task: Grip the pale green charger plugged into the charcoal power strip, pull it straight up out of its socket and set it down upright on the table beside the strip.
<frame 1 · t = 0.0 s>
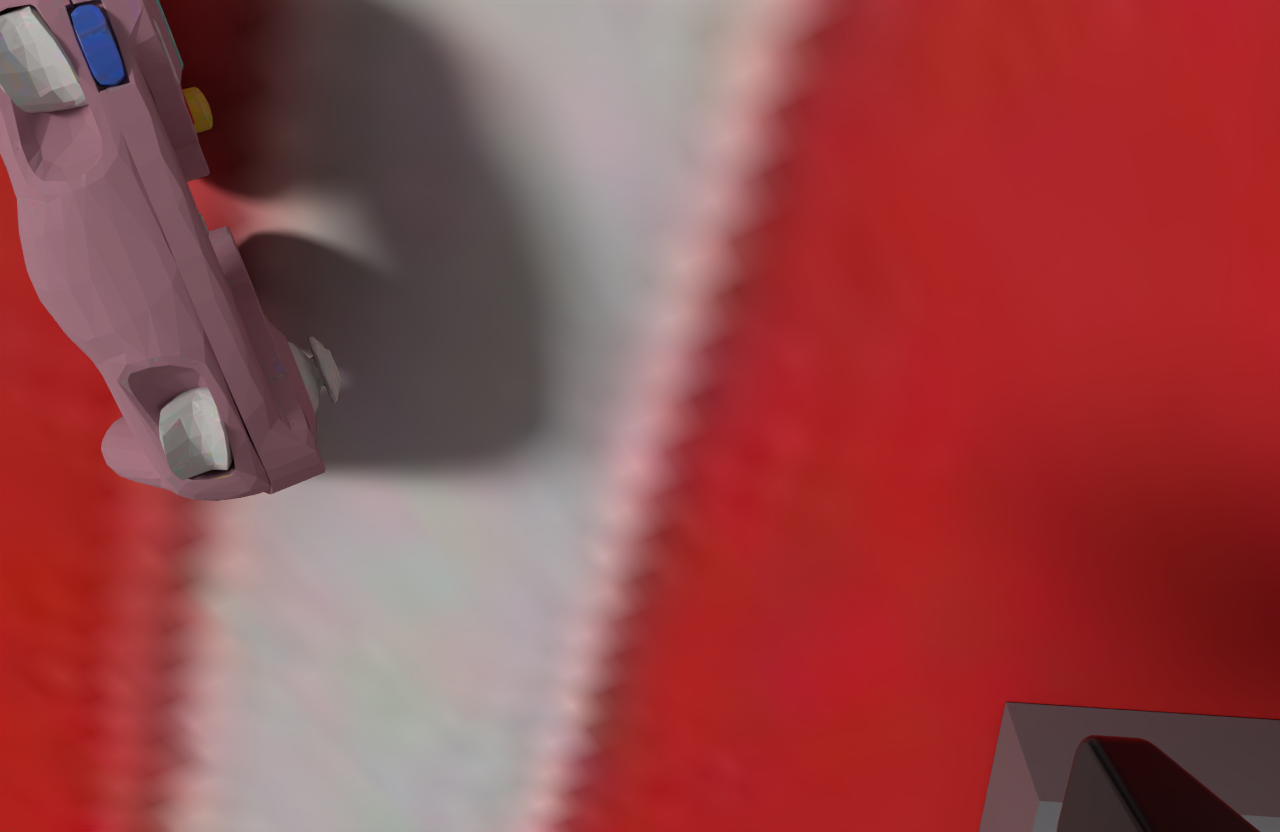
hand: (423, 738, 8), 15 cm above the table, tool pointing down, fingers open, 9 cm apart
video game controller: (188, 194, 22), on the table
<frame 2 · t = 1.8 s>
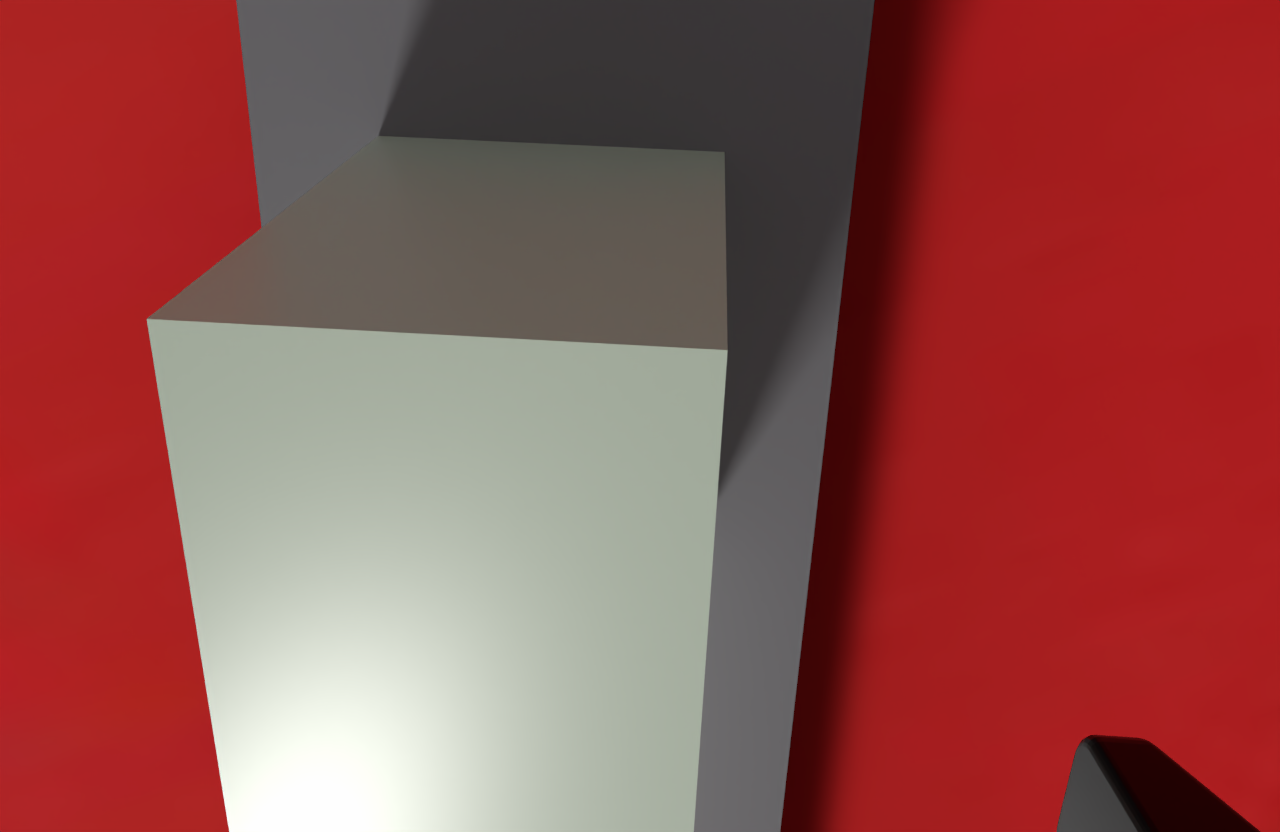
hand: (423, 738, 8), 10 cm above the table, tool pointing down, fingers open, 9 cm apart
charger: (569, 292, 16), point 1 cm above the table, touching power strip
power strip: (575, 505, 19), on the table
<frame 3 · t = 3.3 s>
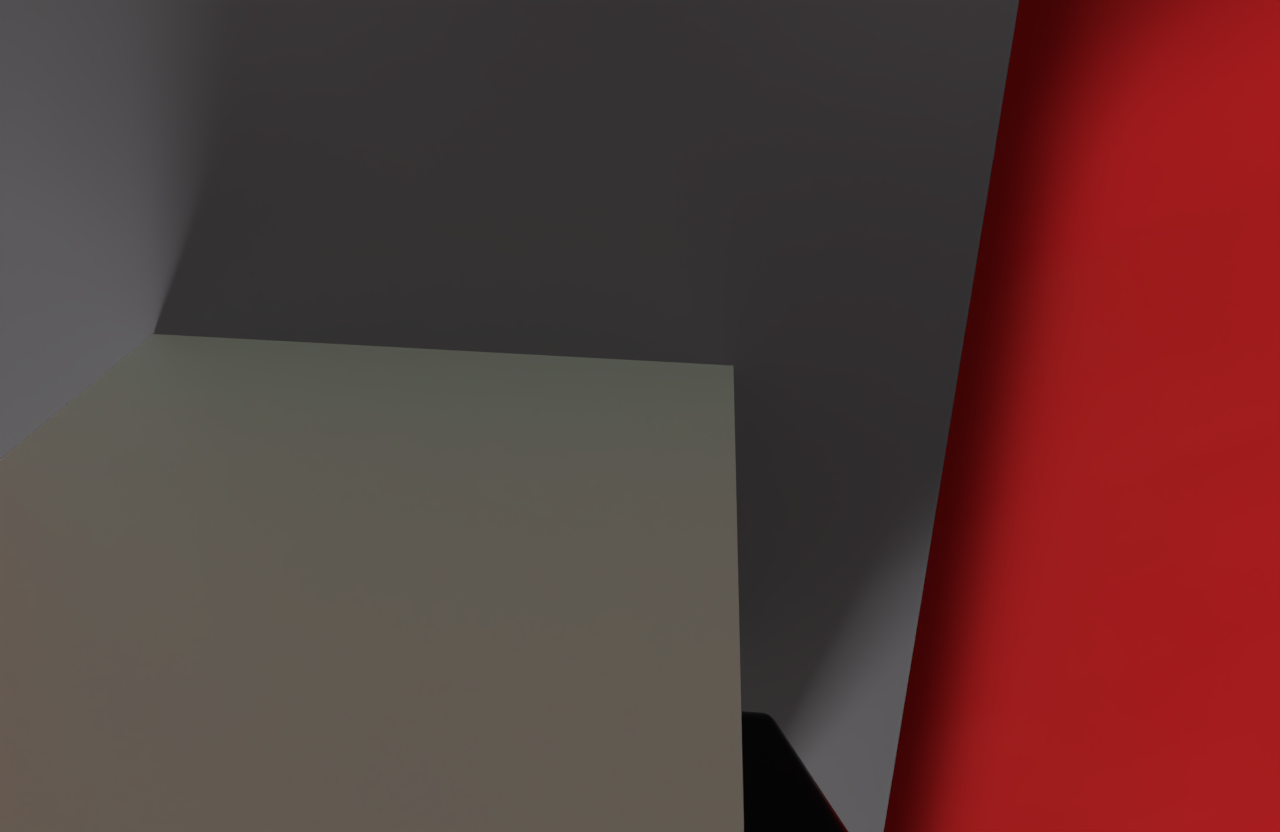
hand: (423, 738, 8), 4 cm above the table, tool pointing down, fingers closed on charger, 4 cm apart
charger: (498, 518, 11), point 1 cm above the table, touching gripper, power strip
power strip: (520, 773, 13), on the table
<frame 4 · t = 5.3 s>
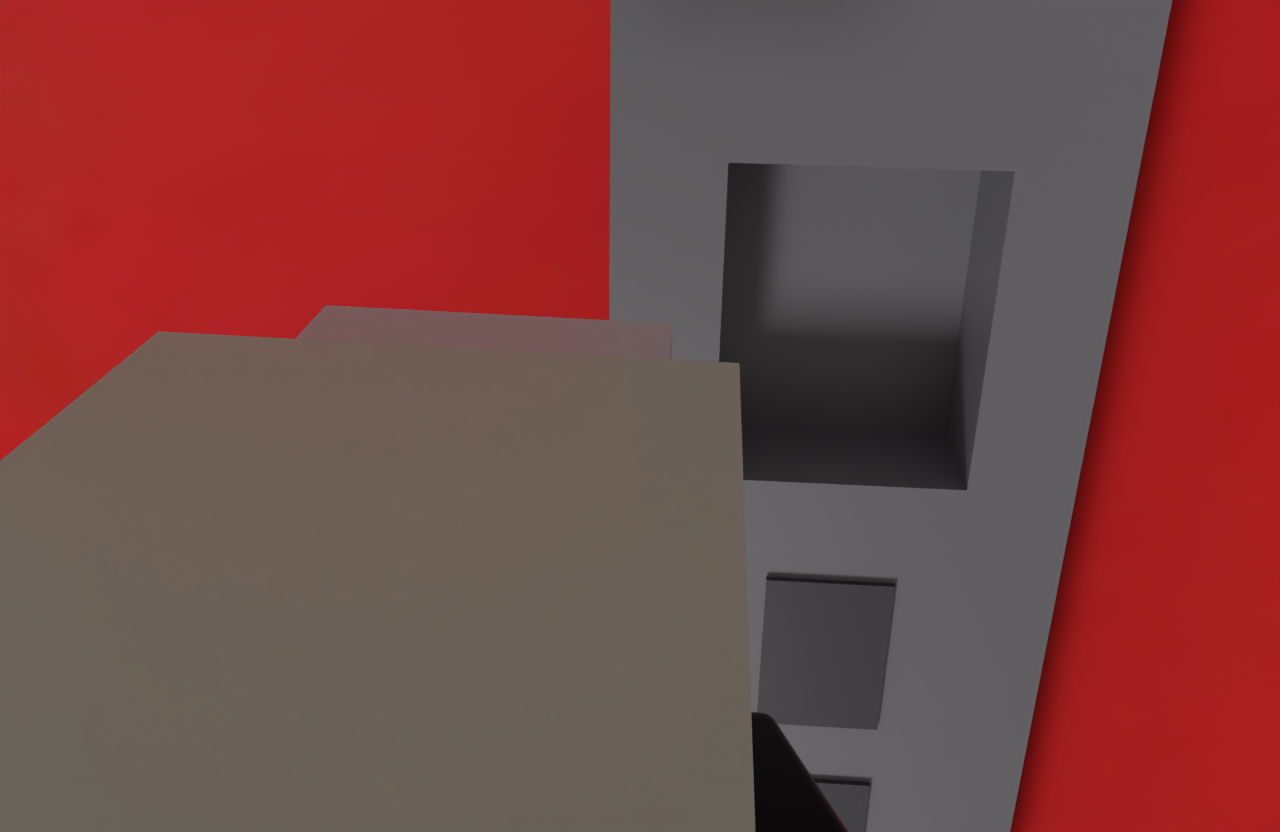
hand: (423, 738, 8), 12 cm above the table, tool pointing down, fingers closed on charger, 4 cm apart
charger: (502, 516, 11), point 9 cm above the table, touching gripper
power strip: (817, 485, 21), on the table
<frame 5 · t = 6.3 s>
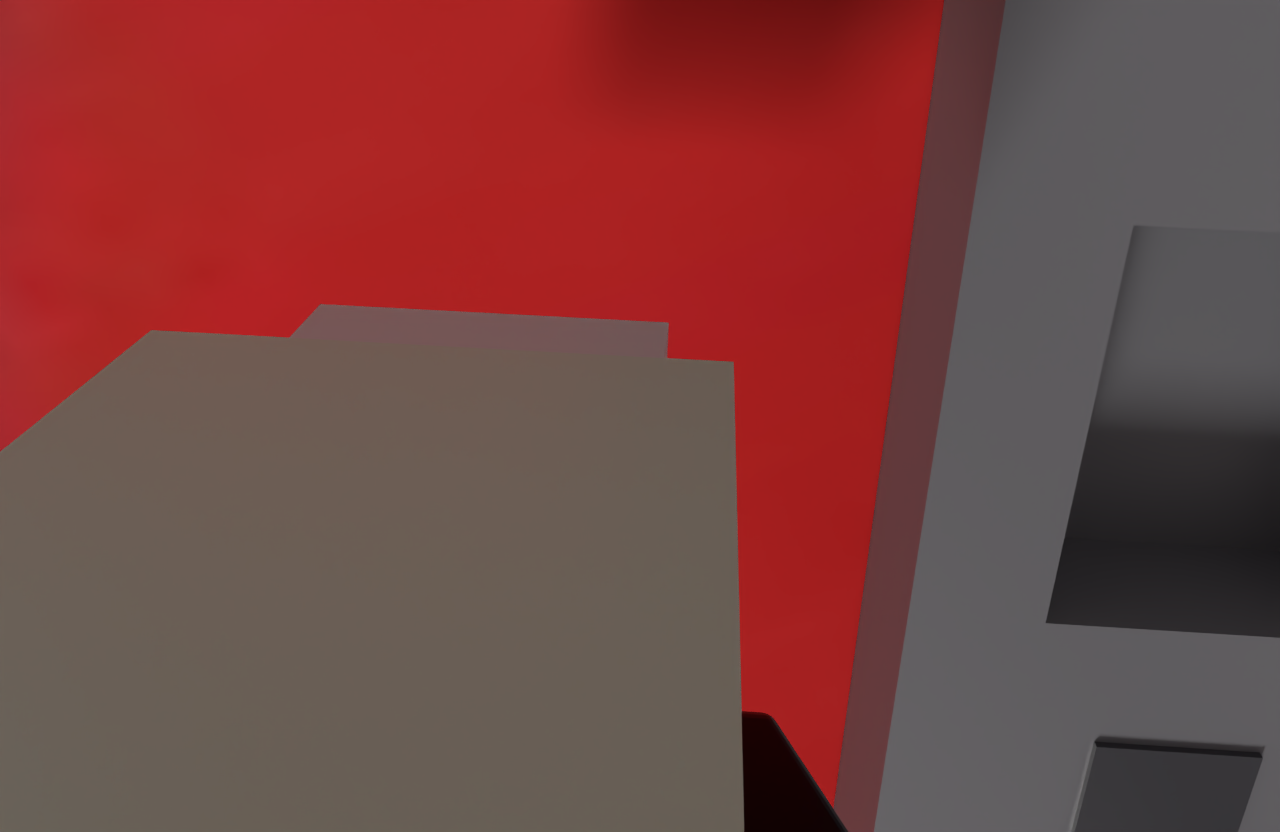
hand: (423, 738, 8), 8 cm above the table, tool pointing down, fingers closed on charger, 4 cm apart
charger: (498, 516, 11), point 5 cm above the table, touching gripper
power strip: (1105, 600, 17), on the table
when the fingers open (4 cm above the table, at t = 7.3 s): charger drops 2 cm, on the table.
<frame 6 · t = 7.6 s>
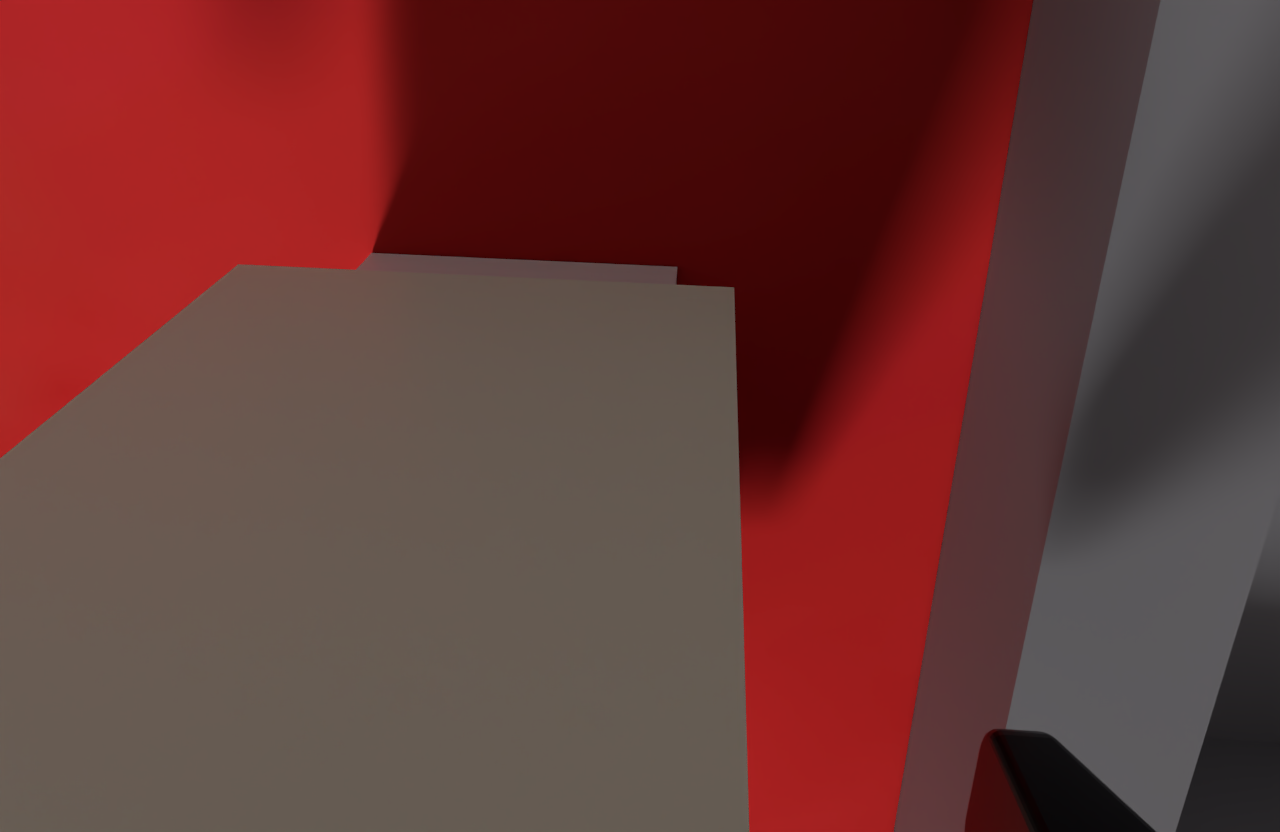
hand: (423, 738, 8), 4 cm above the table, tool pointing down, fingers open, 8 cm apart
charger: (526, 443, 12), on the table
power strip: (1206, 791, 13), on the table
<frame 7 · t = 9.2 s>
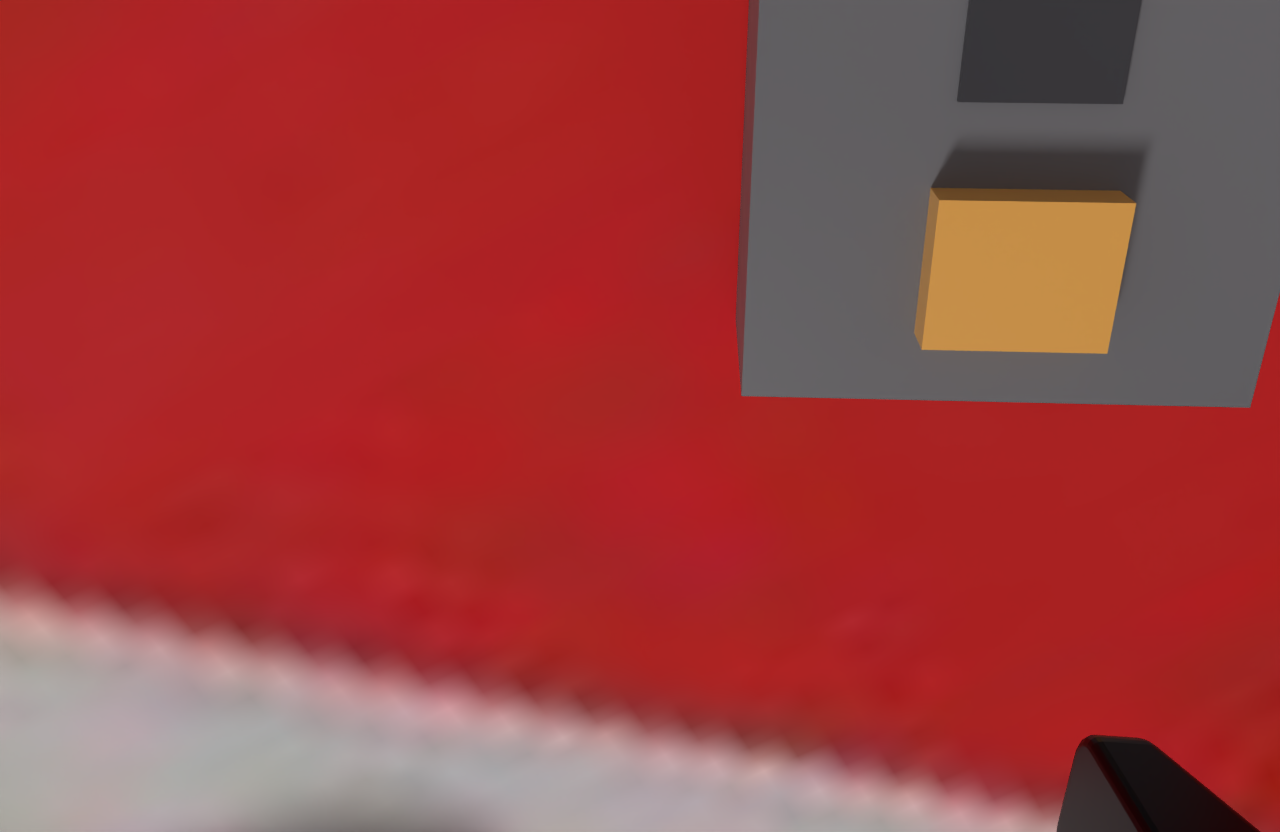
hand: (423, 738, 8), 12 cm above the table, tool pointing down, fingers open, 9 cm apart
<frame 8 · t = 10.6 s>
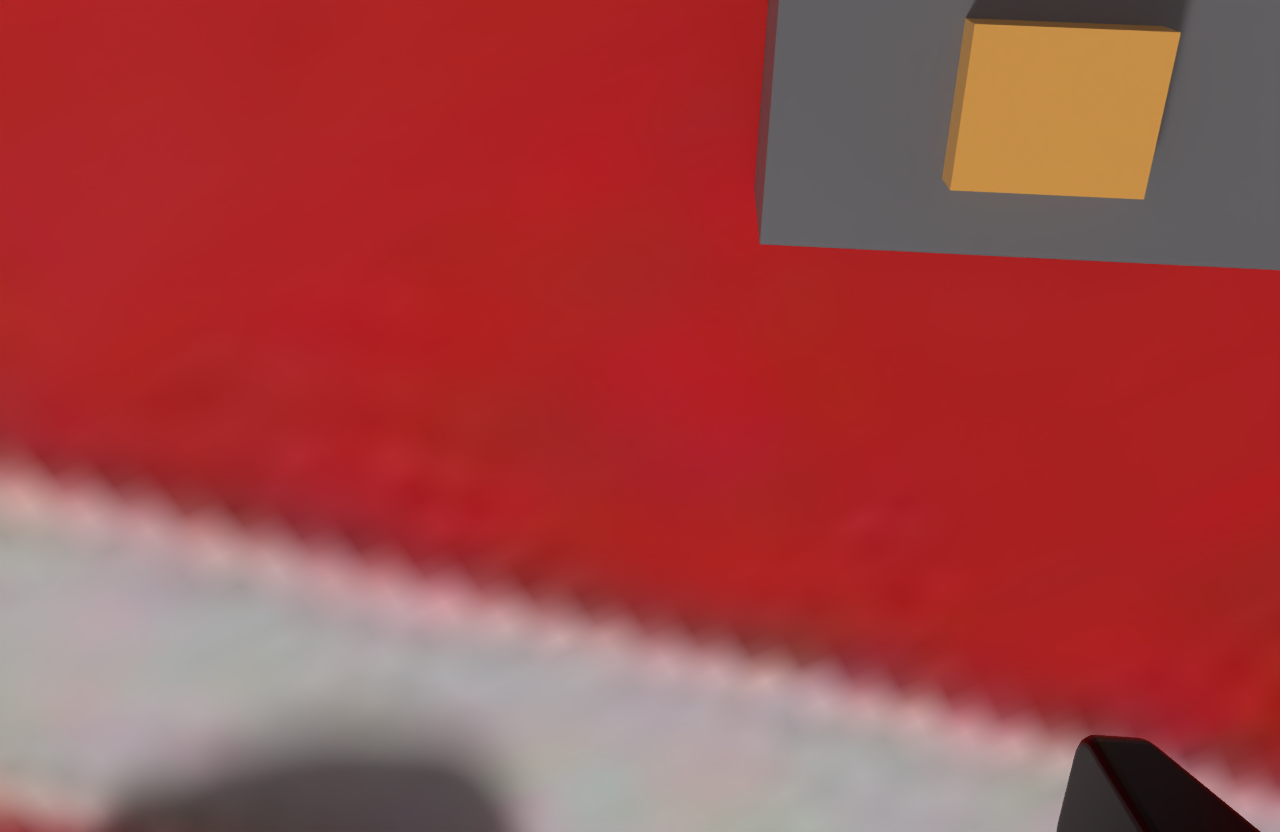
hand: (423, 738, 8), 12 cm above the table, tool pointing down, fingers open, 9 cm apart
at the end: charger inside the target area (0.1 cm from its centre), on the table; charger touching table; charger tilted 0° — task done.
